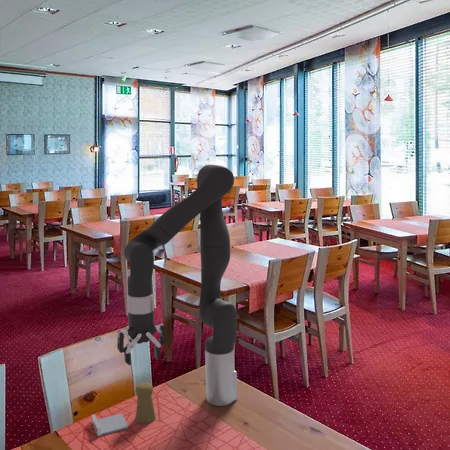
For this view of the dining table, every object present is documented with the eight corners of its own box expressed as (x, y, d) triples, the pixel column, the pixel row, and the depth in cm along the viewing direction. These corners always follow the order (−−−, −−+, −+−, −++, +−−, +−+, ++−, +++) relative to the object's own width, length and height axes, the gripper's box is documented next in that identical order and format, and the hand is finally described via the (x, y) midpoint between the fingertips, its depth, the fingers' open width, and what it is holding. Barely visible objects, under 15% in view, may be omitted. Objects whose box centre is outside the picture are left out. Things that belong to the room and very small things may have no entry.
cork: (151, 424, 149) (150, 390, 147) (132, 422, 150) (130, 388, 148) (158, 413, 154) (157, 380, 153) (139, 412, 156) (138, 379, 154)
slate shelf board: (121, 415, 154) (121, 413, 154) (128, 428, 147) (128, 426, 147) (95, 421, 151) (95, 419, 151) (101, 435, 144) (101, 433, 143)
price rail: (95, 421, 151) (95, 414, 150) (101, 435, 144) (100, 427, 143) (92, 422, 150) (91, 414, 150) (97, 436, 143) (97, 428, 143)
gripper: (160, 301, 153) (161, 352, 155) (113, 308, 147) (116, 361, 149) (168, 308, 146) (170, 361, 149) (119, 316, 140) (122, 371, 143)
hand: (143, 361), depth 149 cm, fingers open, 8 cm apart
